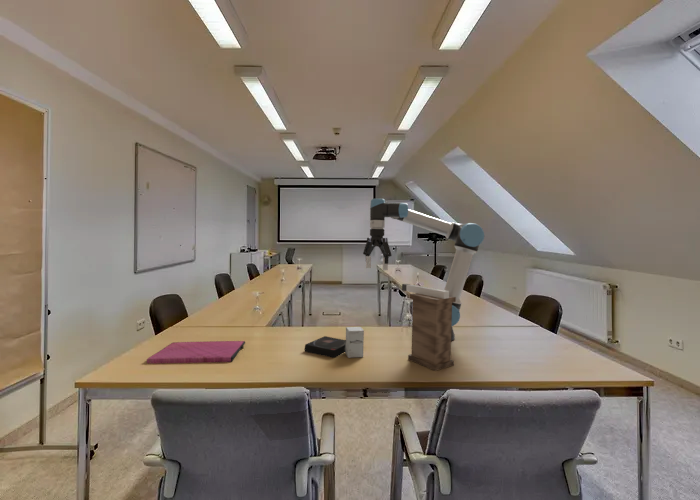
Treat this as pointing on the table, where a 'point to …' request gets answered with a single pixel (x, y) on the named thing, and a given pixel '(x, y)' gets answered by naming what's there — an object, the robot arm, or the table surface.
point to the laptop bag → (198, 352)
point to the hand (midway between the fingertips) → (376, 269)
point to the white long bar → (426, 291)
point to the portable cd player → (326, 347)
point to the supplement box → (354, 342)
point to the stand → (431, 331)
